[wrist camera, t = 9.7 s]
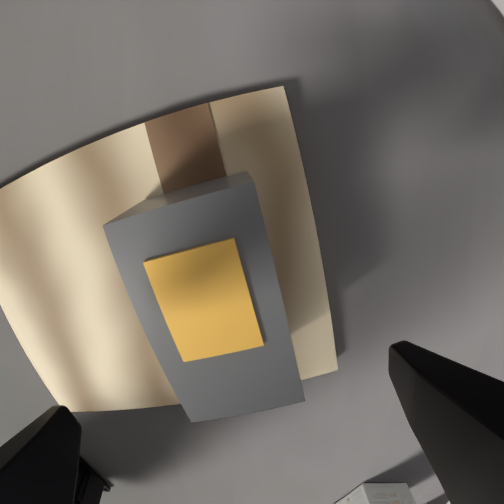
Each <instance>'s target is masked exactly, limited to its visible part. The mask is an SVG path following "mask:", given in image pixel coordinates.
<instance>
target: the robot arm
mask: <svg viewBox="0 0 504 504" xmlns="http://www.w3.org/2000/svg"><path fill="white" fill-rule="evenodd" d="M388 369H389V375H390V378H391V381H392V383H393V385H394V388H395V390H396V393H397V395H398V398H399V400H400V402H401V405H402V407H403V410H404V412H405V415H406V417H407V420H408V422H409V424H410V426H411V428H412V430H413V432H414V434H415V436H416V438H417V440H418V441H419V443H420V445H421V447H422V449H423V451H424V452H425V454H426V456H427V458H428V460H429V462H430V464H431V466H432V468H433V470H434V471H435V473H436V475H437V477H438V479H439V481H440V483H441V485H442V487H443V489H444V491H445V493H446V495H447V497H448V499H449V501H450V503H451V504H504V382H503V381H501V380H498V379H496V378H493V377H491V376H488V375H486V374H484V373H481V372H479V371H476V370H474V369H472V368H469V367H467V366H464V365H462V364H460V363H457V362H455V361H452V360H450V359H448V358H445V357H443V356H441V355H438V354H436V353H434V352H431V351H429V350H427V349H424V348H422V347H420V346H417V345H415V344H413V343H410V342H408V341H400V342H397V343H394V344H392V345H391V346H390V347H389V368H388ZM81 433H82V429H81V425H80V423H79V422H78V421H77V419H76V418H75V417H74V415H73V414H72V413H71V411H70V410H69V409H68V408H67V407H66V406H64V405H55V406H52V407H51V408H50V409H49V410H47V411H46V412H45V413H43V414H42V415H41V416H40V417H38V418H37V419H36V420H34V421H33V422H32V423H31V424H29V425H28V426H27V427H25V428H24V429H23V430H21V431H20V432H19V433H18V434H16V435H15V436H14V437H12V438H11V439H10V440H9V441H7V442H6V443H5V444H3V445H2V446H1V447H0V504H99V503H100V499H101V495H102V492H103V491H106V492H109V491H110V489H111V488H110V487H109V486H108V485H107V484H106V483H105V482H104V481H103V480H102V479H101V478H100V477H99V476H98V475H97V474H96V473H95V472H94V471H93V470H92V469H91V468H90V467H89V466H88V465H87V464H86V463H85V462H84V461H83V460H82V459H81V458H80V457H79V453H80V442H81Z"/></svg>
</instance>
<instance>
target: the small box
mask: <svg viewBox="0 0 504 504" xmlns="http://www.w3.org/2000/svg"><path fill="white" fill-rule="evenodd" d="M335 504H416V503H415V500H414V498H413V496H412V494H411V492H410V489H409V487H408V485H407V483H362V484H361V485H360V486H358V487H357V488H356V489H355V490H353V491H352V492H351V493H349V494H348V495H346V496H345V497H344V498H342V499H341V500H339V501H338V502H337V503H335Z"/></svg>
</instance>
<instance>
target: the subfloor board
mask: <svg viewBox="0 0 504 504" xmlns="http://www.w3.org/2000/svg"><path fill="white" fill-rule="evenodd" d="M245 171H248V173H249V174H250V176H251V178H252V179H253V181H254V183H255V187H256V191H257V195H258V199H259V203H260V207H261V211H262V215H263V219H264V223H265V228H266V232H267V236H268V240H269V244H270V248H271V252H272V257H273V261H274V265H275V269H276V274H277V278H278V282H279V286H280V291H281V295H282V299H283V304H284V308H285V312H286V317H287V321H288V325H289V330H290V334H291V339H292V343H293V347H294V352H295V356H296V361H297V365H298V370H299V374H300V379H301V380H304V379H308V378H311V377H315V376H319V375H322V374H326V373H329V372H333V371H336V370H338V366H337V358H336V350H335V342H334V335H333V327H332V320H331V314H330V307H329V300H328V294H327V288H326V281H325V275H324V270H323V264H322V258H321V252H320V247H319V241H318V236H317V231H316V225H315V220H314V215H313V210H312V205H311V200H310V196H309V191H308V186H307V181H306V177H305V172H304V168H303V163H302V159H301V154H300V150H299V146H298V142H297V137H296V133H295V129H294V125H293V121H292V117H291V113H290V109H289V105H288V102H287V98H286V94H285V90H284V86H280V87H275V88H270V89H265V90H260V91H255V92H250V93H246V94H242V95H237V96H233V97H229V98H225V99H221V100H217V101H213V102H210V103H204V104H201V105H197V106H194V107H190V108H187V109H184V110H180V111H177V112H174V113H171V114H168V115H164V116H161V117H158V118H155V119H152V120H149V121H147V122H144V123H142V124H139V125H136V126H134V127H131V128H128V129H126V130H123V131H120V132H118V133H115V134H113V135H110V136H108V137H105V138H103V139H100V140H98V141H95V142H93V143H91V144H88V145H86V146H84V147H81V148H79V149H77V150H75V151H72V152H70V153H68V154H66V155H64V156H62V157H60V158H58V159H55V160H53V161H51V162H49V163H47V164H45V165H43V166H41V167H39V168H37V169H35V170H34V171H32V172H30V173H28V174H26V175H24V176H22V177H20V178H19V179H17V180H15V181H13V182H11V183H10V184H8V185H6V186H4V187H3V188H1V189H0V305H1V307H2V309H3V311H4V313H5V315H6V317H7V319H8V321H9V323H10V325H11V327H12V329H13V331H14V333H15V335H16V336H17V338H18V340H19V342H20V344H21V346H22V347H23V349H24V351H25V353H26V354H27V356H28V358H29V359H30V361H31V363H32V364H33V366H34V368H35V369H36V371H37V372H38V374H39V376H40V377H41V379H42V380H43V382H44V383H45V385H46V386H47V388H48V389H49V391H50V392H51V394H52V395H53V397H54V398H55V399H56V401H57V402H58V404H59V405H64V406H66V407H67V408H68V409H69V410H70V411H71V412H89V411H111V410H126V409H138V408H149V407H158V406H167V405H175V404H181V403H180V401H179V400H178V398H177V396H176V394H175V392H174V390H173V388H172V387H171V385H170V383H169V381H168V379H167V377H166V375H165V373H164V371H163V369H162V367H161V365H160V363H159V361H158V359H157V357H156V355H155V353H154V351H153V349H152V347H151V345H150V343H149V341H148V338H147V336H146V334H145V332H144V330H143V328H142V325H141V323H140V321H139V319H138V316H137V314H136V312H135V309H134V307H133V305H132V302H131V300H130V298H129V295H128V293H127V290H126V288H125V285H124V283H123V280H122V278H121V275H120V273H119V270H118V268H117V265H116V262H115V260H114V257H113V254H112V252H111V249H110V246H109V243H108V240H107V238H106V235H105V232H104V229H103V225H104V224H106V223H107V222H109V221H111V220H112V219H114V218H115V217H117V216H119V215H120V214H122V213H123V212H125V211H127V210H128V209H130V208H131V207H133V206H135V205H136V204H138V203H140V202H141V201H143V200H146V199H149V198H152V197H156V196H159V195H162V194H165V193H169V192H172V191H175V190H179V189H182V188H186V187H189V186H193V185H196V184H200V183H203V182H207V181H211V180H214V179H218V178H222V177H226V176H229V175H233V174H237V173H241V172H245Z"/></svg>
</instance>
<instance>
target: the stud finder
mask: <svg viewBox="0 0 504 504" xmlns="http://www.w3.org/2000/svg"><path fill="white" fill-rule="evenodd" d="M103 229H104V232H105V235H106V238H107V240H108V243H109V246H110V249H111V252H112V254H113V257H114V260H115V262H116V265H117V268H118V270H119V273H120V275H121V278H122V280H123V283H124V285H125V288H126V290H127V293H128V295H129V298H130V300H131V302H132V305H133V307H134V309H135V312H136V314H137V316H138V319H139V321H140V323H141V325H142V328H143V330H144V332H145V334H146V336H147V338H148V341H149V343H150V345H151V347H152V349H153V351H154V353H155V355H156V357H157V359H158V361H159V363H160V365H161V367H162V369H163V371H164V373H165V375H166V377H167V379H168V381H169V383H170V385H171V387H172V388H173V390H174V392H175V394H176V396H177V398H178V400H179V401H180V403H181V405H182V407H183V409H184V410H185V412H186V414H187V416H188V417H189V419H190V421H191V422H200V421H207V420H214V419H221V418H227V417H233V416H238V415H244V414H249V413H254V412H259V411H264V410H269V409H273V408H278V407H282V406H287V405H291V404H295V403H299V402H303V401H305V397H304V393H303V388H302V384H301V379H300V374H299V370H298V365H297V361H296V356H295V352H294V347H293V343H292V339H291V334H290V330H289V325H288V321H287V317H286V312H285V308H284V304H283V299H282V295H281V291H280V286H279V282H278V278H277V274H276V269H275V265H274V261H273V257H272V252H271V248H270V244H269V240H268V236H267V232H266V228H265V223H264V219H263V215H262V211H261V207H260V203H259V199H258V195H257V191H256V187H255V183H254V181H253V179H252V178H251V176H250V174H249V173H248V171H245V172H241V173H237V174H233V175H229V176H226V177H222V178H218V179H214V180H211V181H207V182H203V183H200V184H196V185H193V186H189V187H186V188H182V189H179V190H175V191H172V192H169V193H165V194H162V195H159V196H156V197H152V198H149V199H146V200H143V201H141V202H140V203H138V204H136V205H135V206H133V207H131V208H130V209H128V210H127V211H125V212H123V213H122V214H120V215H119V216H117V217H115V218H114V219H112V220H111V221H109V222H107V223H106V224H104V225H103Z"/></svg>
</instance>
